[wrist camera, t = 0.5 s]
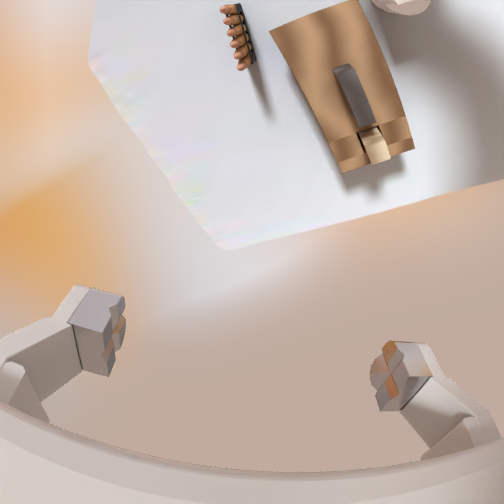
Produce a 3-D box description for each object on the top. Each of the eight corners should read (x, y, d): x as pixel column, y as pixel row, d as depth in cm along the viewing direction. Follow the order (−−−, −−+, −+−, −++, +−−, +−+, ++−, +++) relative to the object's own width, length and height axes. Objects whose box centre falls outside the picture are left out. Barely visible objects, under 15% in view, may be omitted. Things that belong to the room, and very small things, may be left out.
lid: (354, -2, 29) (364, -3, 25) (412, 145, 44) (424, 162, 40) (269, 31, 35) (266, 34, 31) (341, 169, 49) (345, 188, 45)
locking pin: (369, 116, 45) (385, 141, 38) (375, 131, 47) (391, 158, 40) (353, 122, 47) (365, 147, 40) (359, 137, 48) (372, 165, 41)
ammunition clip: (256, 60, 45) (247, 74, 36) (245, 62, 45) (234, 77, 37) (240, 3, 38) (226, 1, 29) (228, 5, 38) (212, 5, 29)
